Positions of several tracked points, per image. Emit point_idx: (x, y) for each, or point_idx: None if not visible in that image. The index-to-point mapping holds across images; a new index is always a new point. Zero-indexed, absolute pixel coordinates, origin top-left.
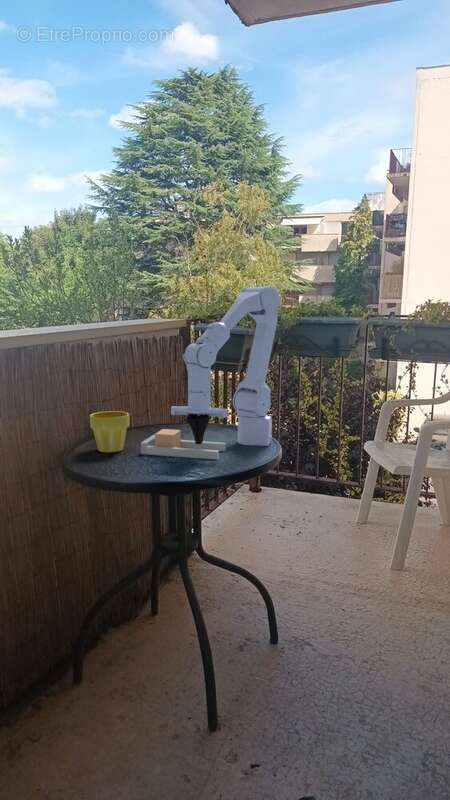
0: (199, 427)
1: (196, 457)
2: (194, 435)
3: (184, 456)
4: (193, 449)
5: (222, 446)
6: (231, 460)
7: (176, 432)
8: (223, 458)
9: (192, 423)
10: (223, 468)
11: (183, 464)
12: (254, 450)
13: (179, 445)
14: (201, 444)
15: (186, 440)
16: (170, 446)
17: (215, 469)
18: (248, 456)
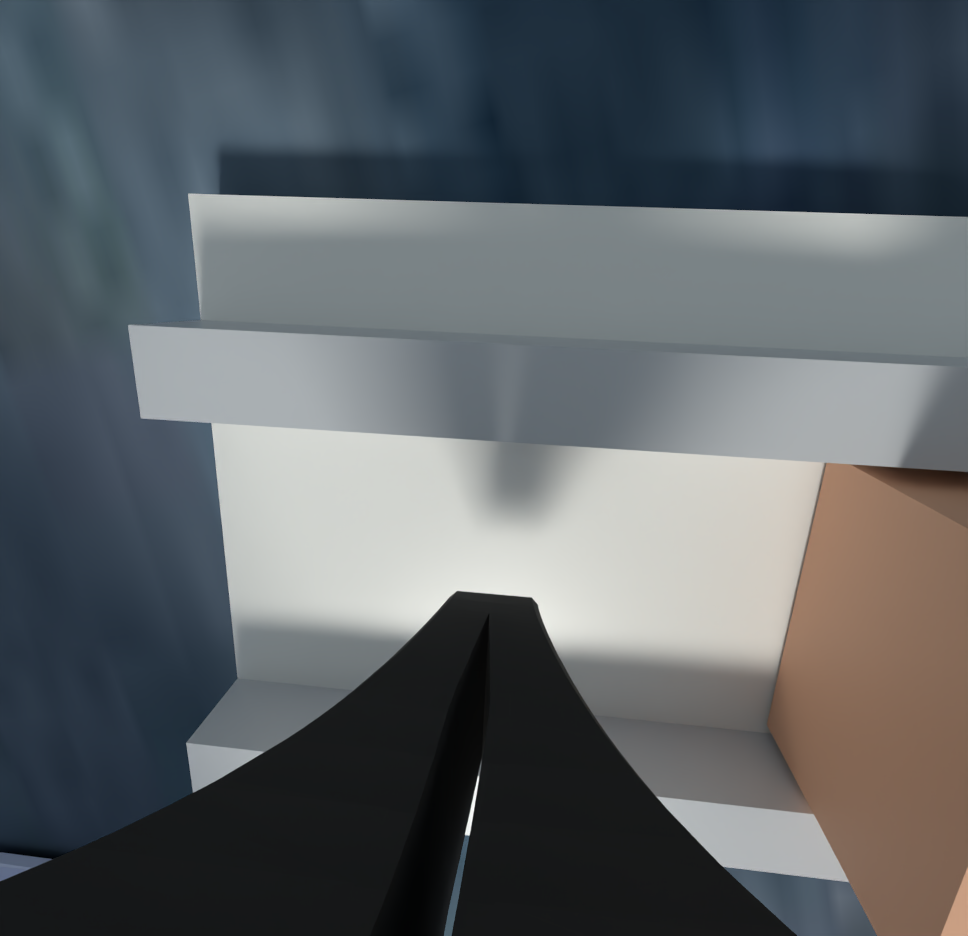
0: (370, 779)
1: (478, 331)
2: (549, 665)
3: (655, 344)
4: (527, 390)
5: (229, 722)
6: (130, 483)
7: None
8: None
9: (625, 916)
10: (99, 125)
11: (631, 185)
12: (55, 834)
13: (799, 715)
14: None
15: (727, 854)
16: (957, 492)
17: (173, 47)
18: (30, 648)
